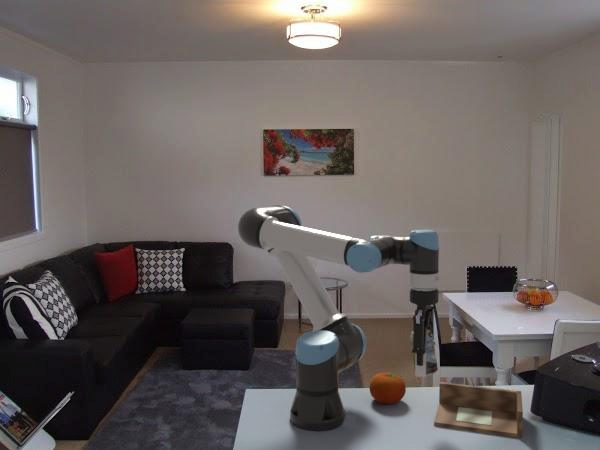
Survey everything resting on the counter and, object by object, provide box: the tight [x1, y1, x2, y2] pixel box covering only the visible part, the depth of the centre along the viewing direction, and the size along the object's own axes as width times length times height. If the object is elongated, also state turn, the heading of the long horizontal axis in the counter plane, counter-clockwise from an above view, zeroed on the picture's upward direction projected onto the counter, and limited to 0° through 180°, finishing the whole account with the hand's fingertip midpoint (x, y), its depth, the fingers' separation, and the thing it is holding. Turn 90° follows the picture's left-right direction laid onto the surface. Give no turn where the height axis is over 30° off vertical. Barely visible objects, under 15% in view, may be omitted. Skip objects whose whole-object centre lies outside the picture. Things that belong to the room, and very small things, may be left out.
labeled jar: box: [409, 329, 439, 377], centre depth 150 cm, size 6×7×12 cm
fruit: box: [369, 372, 407, 405], centre depth 166 cm, size 11×10×8 cm
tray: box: [433, 381, 524, 439], centre depth 153 cm, size 22×14×7 cm, turn 70°
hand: (423, 372), depth 151 cm, fingers closed on labeled jar, 6 cm apart
